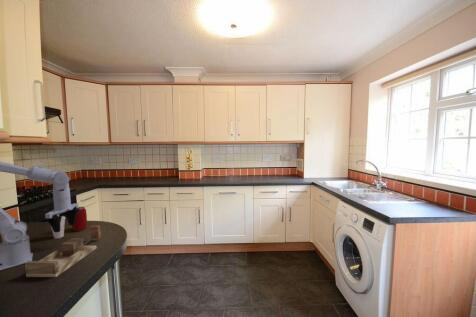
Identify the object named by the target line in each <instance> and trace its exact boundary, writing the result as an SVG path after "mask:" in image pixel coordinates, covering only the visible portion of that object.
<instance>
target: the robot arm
mask: <svg viewBox="0 0 476 317" xmlns="http://www.w3.org/2000/svg"><path fill="white" fill-rule="evenodd" d="M0 172H2V173H7V174H14V175H20V176H25V177H27V179H28V180H30V181H36V182H40V183H41V182H42V183H45V184H50V183H51V184H52V187H53V189H52V196H53V197H52V198H53V208H54V209H52V210H50V211H49V212H47V213H45V214H44V215H45V217H44V218H45V219H44V220H45V221H46V222H47V223H48V224H49V225H50V228H51V227H52V228H51V230H52V229H53V231H54V232H60V222H61V218H62V217H60V215H61V214H63V213H65V215H66V217H67V222H68V225H69V226H72V225H74V224H75V220H76V216H77V214H78V212H79V208H78V207H79V203H72V200H71V189H70V183H69V182H70V177H69V175H68V174H67V173H66V172H65V171H62V170H58V169H49V168H44V166H42V165H39V166H37V165H36V166H33V167H32V166H31V167H25V166H22V165H16V164H13V163H7V162H3V161H0ZM57 215H59V217H58V216H57ZM27 229H28V224H27V223H26V222H24V221H22V220H18V218H17V219H16V218H15V217H14V216H11V215H10V214H9V213H8V212H6V210H4V209H3V208H2V207H1V206H0V236H1V240H2V242H1V243H0V271H3V270H6V269H9V268H14V267H16V266H20V265H25V263H26V262H28V261H33V255H34V253H33V252H31V244H30V236H29V235H28V234H27Z"/></svg>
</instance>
